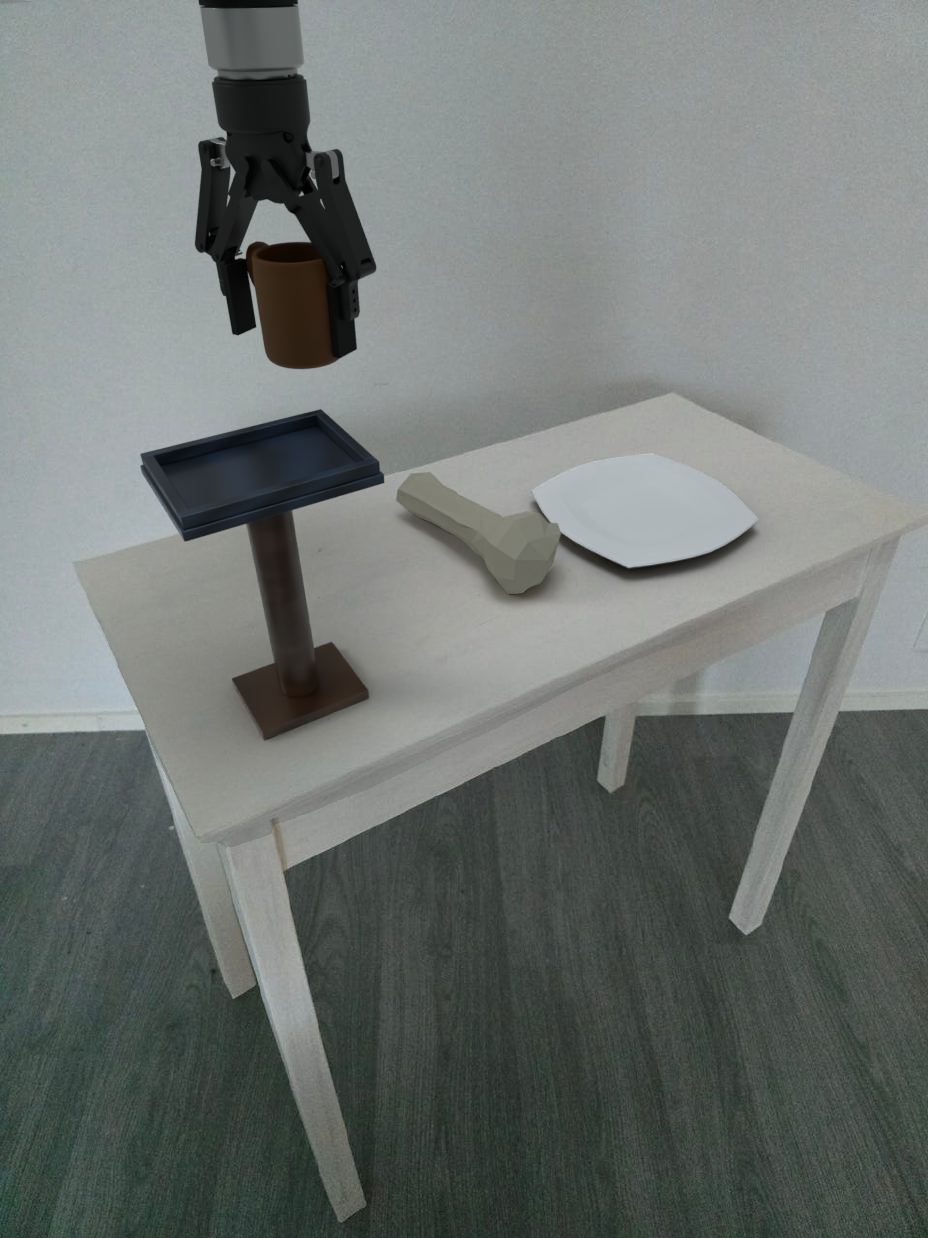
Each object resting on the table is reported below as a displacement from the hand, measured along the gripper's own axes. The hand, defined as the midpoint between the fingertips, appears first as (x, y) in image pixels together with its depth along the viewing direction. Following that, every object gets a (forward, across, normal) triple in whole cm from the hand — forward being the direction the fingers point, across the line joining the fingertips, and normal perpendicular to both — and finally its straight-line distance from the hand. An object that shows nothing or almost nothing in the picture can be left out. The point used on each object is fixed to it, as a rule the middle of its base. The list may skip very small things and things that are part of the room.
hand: (293, 341), depth 80 cm
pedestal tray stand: (+24, -13, +20) cm, 34 cm away
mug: (+1, 0, 0) cm, 1 cm away
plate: (+23, -30, -23) cm, 44 cm away
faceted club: (+24, -15, -8) cm, 29 cm away
